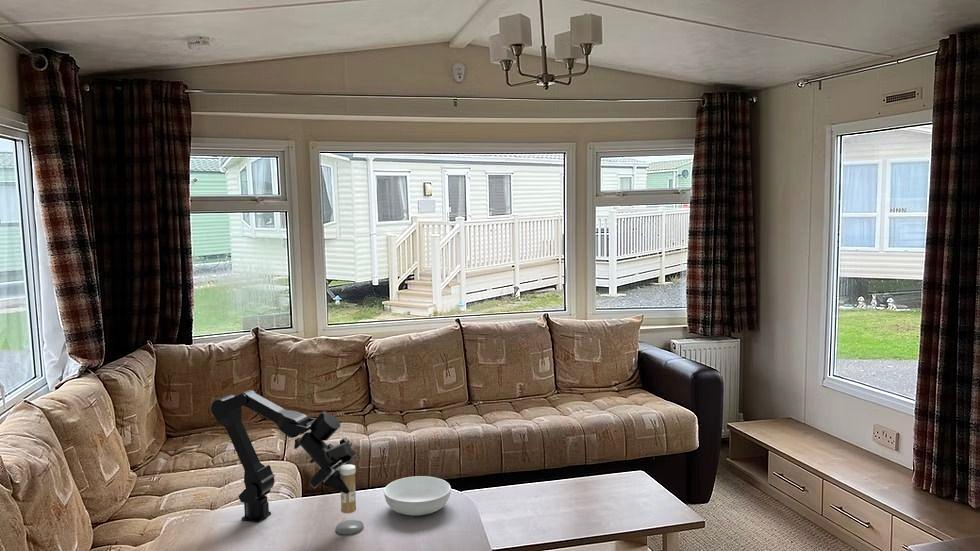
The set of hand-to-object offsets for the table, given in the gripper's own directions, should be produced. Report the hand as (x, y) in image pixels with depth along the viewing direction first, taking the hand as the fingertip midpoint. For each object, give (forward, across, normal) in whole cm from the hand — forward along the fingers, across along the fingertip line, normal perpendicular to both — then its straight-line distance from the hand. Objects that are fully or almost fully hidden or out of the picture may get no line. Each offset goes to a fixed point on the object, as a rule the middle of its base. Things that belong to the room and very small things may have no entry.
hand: (352, 489), depth 197 cm
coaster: (+8, 0, +9) cm, 12 cm away
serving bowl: (+18, +18, -1) cm, 25 cm away
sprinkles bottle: (+4, 0, +6) cm, 7 cm away
